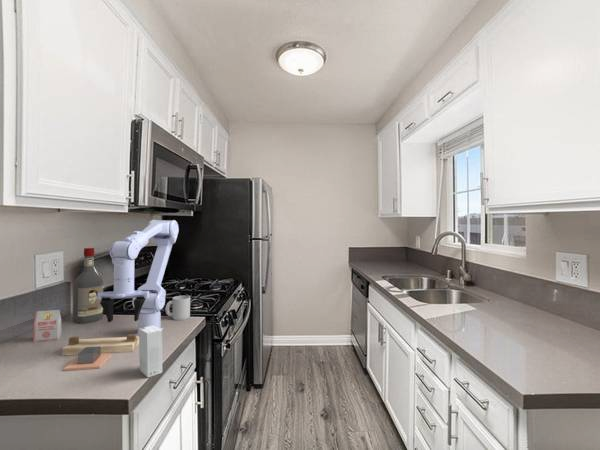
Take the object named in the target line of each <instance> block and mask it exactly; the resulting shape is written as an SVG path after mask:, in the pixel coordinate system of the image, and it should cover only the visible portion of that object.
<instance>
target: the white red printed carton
mask: <svg viewBox="0 0 600 450" xmlns="http://www.w3.org/2000/svg"><path fill="white" fill-rule="evenodd" d="M32 327H33V332H32V334H33V335H32V336H33V337H32V338H33V339H32V340H33V341H41V342H46V341H45V340H51V341H58V340H59V339H60V338H61V337H62V316H61V310H60V309H51V310H38V311H35V316H34V322H33V325H32ZM33 341H32V342H33Z"/></svg>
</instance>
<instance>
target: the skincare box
mask: <svg viewBox="0 0 600 450" xmlns="http://www.w3.org/2000/svg"><path fill="white" fill-rule="evenodd" d="M138 346H139V347H138V348H139V354H138V355H139V371H140V372H141V373H142V374H143V375H144V376H146V378H151V377H155V376H157V375H160V374H162V373H163V330H161V329H159V328H157V327H155V326H154V325H152V326H148V327H144V328H140V329H139V344H138Z"/></svg>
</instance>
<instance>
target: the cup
mask: <svg viewBox="0 0 600 450" xmlns="http://www.w3.org/2000/svg"><path fill="white" fill-rule="evenodd" d="M171 305H172V312H171V310H170V306H171ZM165 313H166V315H167V316H168V317H171V318H172V319H173V320H174V321H186V320H188V319H190V317H191V296H190V295H176V296H173V297H172V300H169V301H168V302H166V304H165Z"/></svg>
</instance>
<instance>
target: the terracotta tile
mask: <svg viewBox="0 0 600 450" xmlns="http://www.w3.org/2000/svg"><path fill="white" fill-rule="evenodd" d="M112 355H113V354H112V353H101V356H100V357H99V358H98V359H97V360H96V361H95V362H94V363H92V364H78V356H77V357H75V358H74V359H73V360H72V361H71V362H70V363H68V364H67V365H66V366H65V367H64V368H63V372H64V371H65V372H66V371H78V370H79V371H80V370H83V371H84V370H95V369H101V367H102V366H103V365H104V364H105V363H106V362H107V361H108V359H110V358H111V356H112Z"/></svg>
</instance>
